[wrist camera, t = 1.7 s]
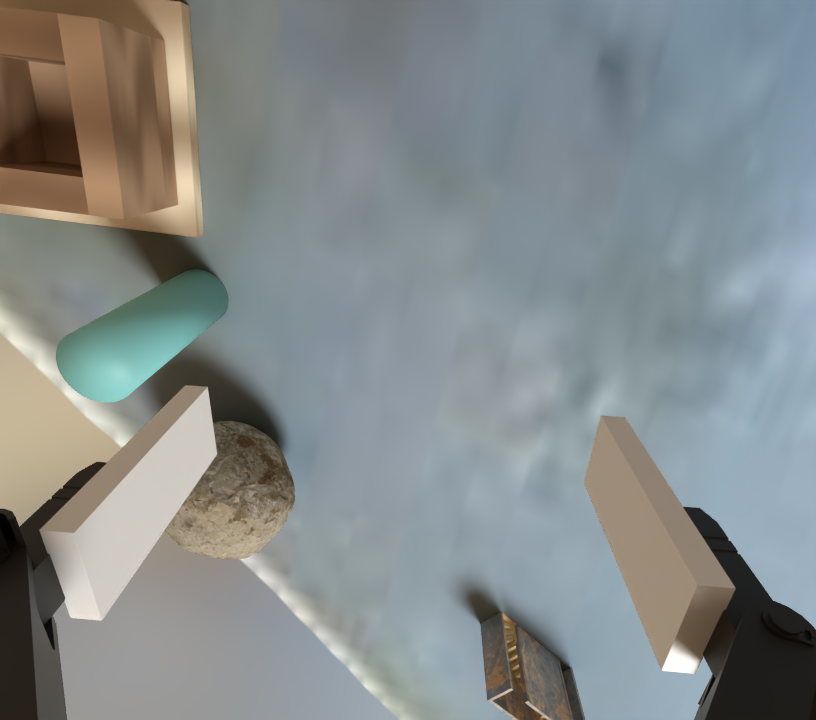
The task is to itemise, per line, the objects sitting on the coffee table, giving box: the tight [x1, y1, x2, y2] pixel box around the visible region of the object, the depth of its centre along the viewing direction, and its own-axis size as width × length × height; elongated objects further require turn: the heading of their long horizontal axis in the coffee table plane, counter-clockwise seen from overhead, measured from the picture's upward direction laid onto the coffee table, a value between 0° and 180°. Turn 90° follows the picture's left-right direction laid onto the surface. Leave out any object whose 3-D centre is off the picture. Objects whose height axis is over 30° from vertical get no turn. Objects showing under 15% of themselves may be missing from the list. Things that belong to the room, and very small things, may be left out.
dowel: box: [56, 269, 228, 402], centre depth 30 cm, size 4×4×12 cm
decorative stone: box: [164, 421, 295, 559], centre depth 36 cm, size 10×8×10 cm
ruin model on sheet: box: [480, 612, 585, 720], centre depth 45 cm, size 11×3×10 cm, turn 45°
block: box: [0, 6, 178, 219], centre depth 27 cm, size 9×9×6 cm
